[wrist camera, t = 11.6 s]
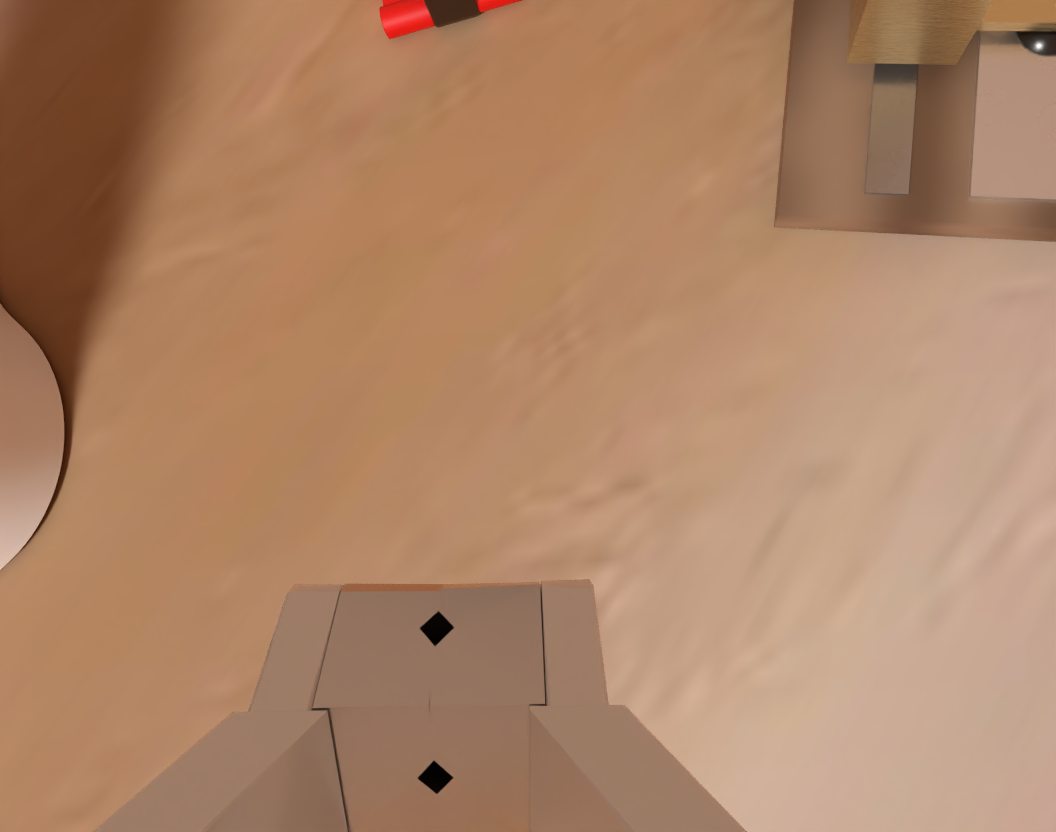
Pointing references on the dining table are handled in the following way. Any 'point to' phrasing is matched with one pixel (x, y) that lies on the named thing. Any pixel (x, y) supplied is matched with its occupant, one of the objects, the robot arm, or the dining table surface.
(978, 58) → the bolt strip
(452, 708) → the robot arm
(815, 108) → the walnut board
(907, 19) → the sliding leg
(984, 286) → the dining table surface
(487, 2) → the tow hook
